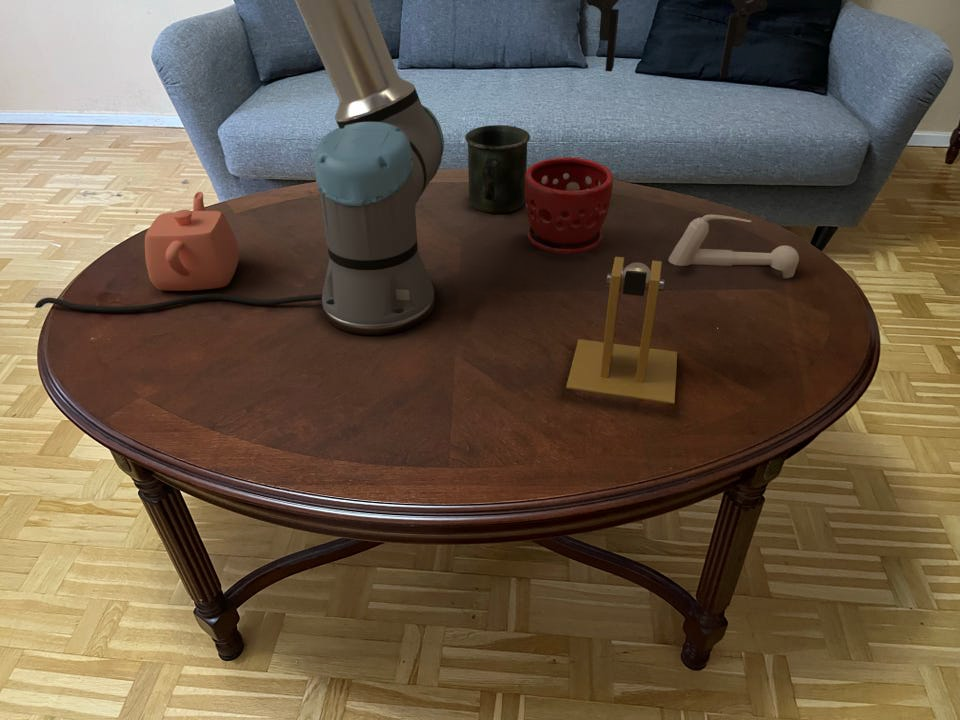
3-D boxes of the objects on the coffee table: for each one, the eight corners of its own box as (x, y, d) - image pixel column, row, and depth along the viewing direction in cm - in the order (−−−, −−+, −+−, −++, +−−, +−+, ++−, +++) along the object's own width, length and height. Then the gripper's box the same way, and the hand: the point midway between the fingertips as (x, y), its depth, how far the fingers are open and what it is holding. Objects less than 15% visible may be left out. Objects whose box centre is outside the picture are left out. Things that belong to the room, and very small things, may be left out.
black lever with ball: (620, 289, 89) (624, 260, 88) (649, 292, 88) (653, 263, 88) (615, 298, 76) (619, 264, 76) (649, 302, 76) (654, 268, 75)
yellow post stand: (577, 348, 90) (586, 241, 81) (675, 361, 87) (695, 252, 79) (565, 397, 82) (573, 284, 73) (672, 413, 79) (694, 298, 71)
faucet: (778, 306, 106) (817, 250, 100) (669, 267, 104) (702, 208, 98) (772, 292, 109) (810, 237, 103) (666, 254, 108) (698, 196, 102)
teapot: (142, 308, 99) (119, 240, 93) (178, 249, 113) (160, 186, 107) (226, 305, 99) (209, 236, 93) (251, 246, 114) (237, 183, 108)
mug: (531, 192, 130) (534, 126, 123) (520, 226, 119) (522, 155, 112) (473, 188, 132) (472, 123, 125) (456, 222, 120) (454, 152, 113)
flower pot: (506, 240, 114) (507, 168, 107) (570, 220, 120) (575, 150, 113) (557, 273, 106) (562, 196, 99) (623, 249, 111) (632, 175, 104)
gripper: (816, -142, 75) (770, 69, 88) (580, -140, 81) (568, 59, 93) (825, -141, 69) (775, 85, 82) (570, -139, 75) (559, 73, 87)
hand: (665, 71), depth 87 cm, fingers open, 13 cm apart
